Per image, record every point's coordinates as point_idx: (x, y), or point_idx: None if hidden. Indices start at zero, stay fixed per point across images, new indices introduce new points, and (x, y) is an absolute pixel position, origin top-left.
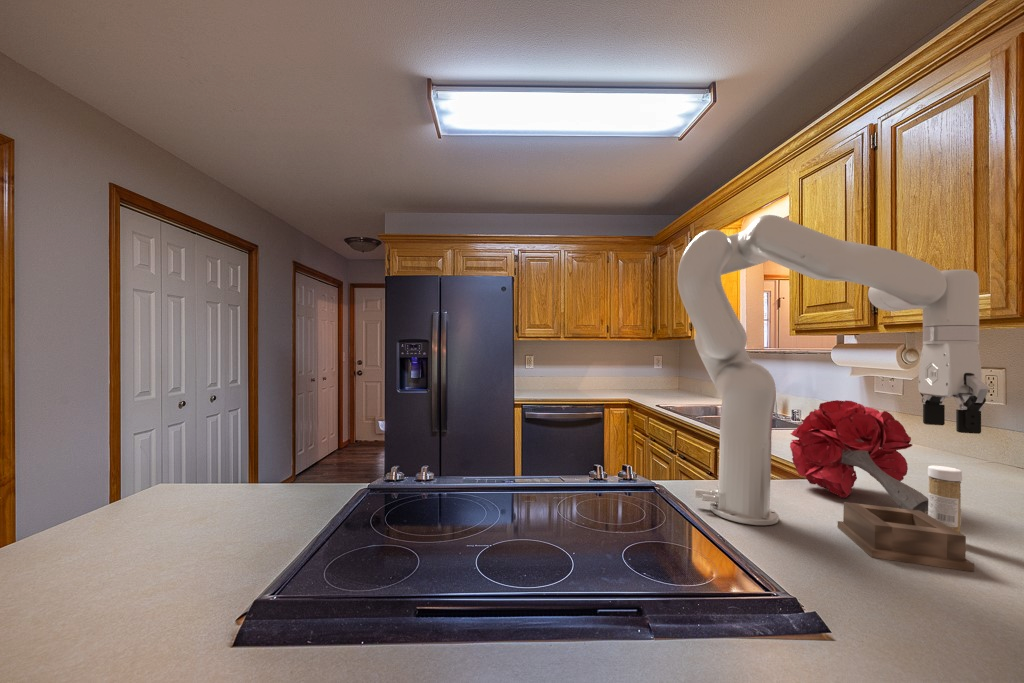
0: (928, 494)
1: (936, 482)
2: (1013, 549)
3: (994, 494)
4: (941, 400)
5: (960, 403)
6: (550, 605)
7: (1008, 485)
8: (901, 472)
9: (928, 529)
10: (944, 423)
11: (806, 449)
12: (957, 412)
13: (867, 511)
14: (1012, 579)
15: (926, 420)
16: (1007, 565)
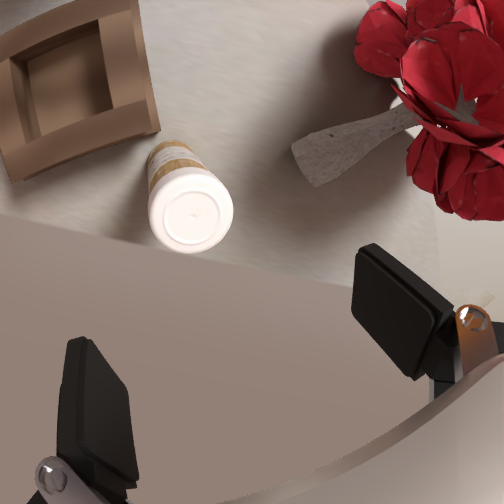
0: (186, 157)
1: (159, 178)
2: (195, 254)
3: (433, 286)
4: (431, 392)
5: (60, 497)
6: None
7: (455, 300)
8: (415, 175)
9: (6, 128)
10: (358, 317)
11: (444, 4)
12: (65, 432)
13: (68, 25)
14: (37, 219)
15: (366, 261)
16: (97, 227)
